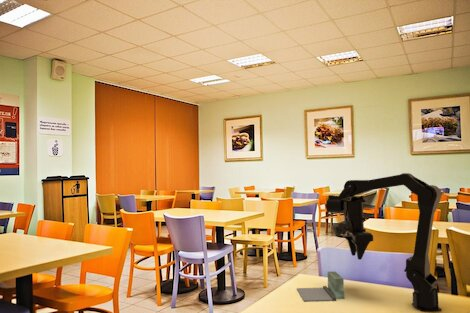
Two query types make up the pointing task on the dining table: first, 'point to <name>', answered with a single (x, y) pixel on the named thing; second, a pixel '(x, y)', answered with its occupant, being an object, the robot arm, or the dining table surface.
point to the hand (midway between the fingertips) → (356, 257)
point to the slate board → (316, 294)
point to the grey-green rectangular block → (336, 284)
